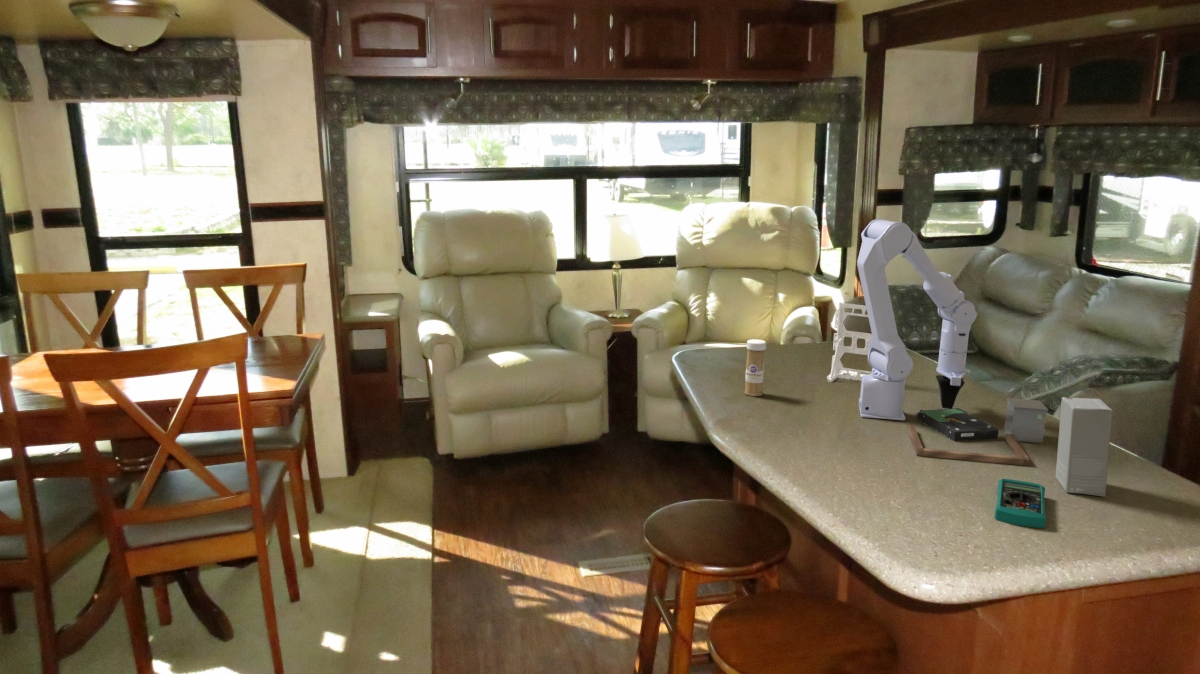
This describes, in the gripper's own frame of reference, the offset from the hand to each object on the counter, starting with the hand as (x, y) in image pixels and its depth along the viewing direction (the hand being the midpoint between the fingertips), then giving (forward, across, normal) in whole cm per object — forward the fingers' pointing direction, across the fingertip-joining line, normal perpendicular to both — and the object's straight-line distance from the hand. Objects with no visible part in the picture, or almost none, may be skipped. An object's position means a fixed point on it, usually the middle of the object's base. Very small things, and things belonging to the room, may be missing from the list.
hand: (946, 407), depth 189 cm
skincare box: (+1, -40, -16) cm, 43 cm away
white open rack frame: (+1, +23, +18) cm, 29 cm away
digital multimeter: (+2, -53, -4) cm, 53 cm away
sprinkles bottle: (+1, +2, +44) cm, 44 cm away
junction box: (+1, -14, -13) cm, 19 cm away
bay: (+1, -24, 0) cm, 24 cm away
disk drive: (+2, -12, 0) cm, 12 cm away
